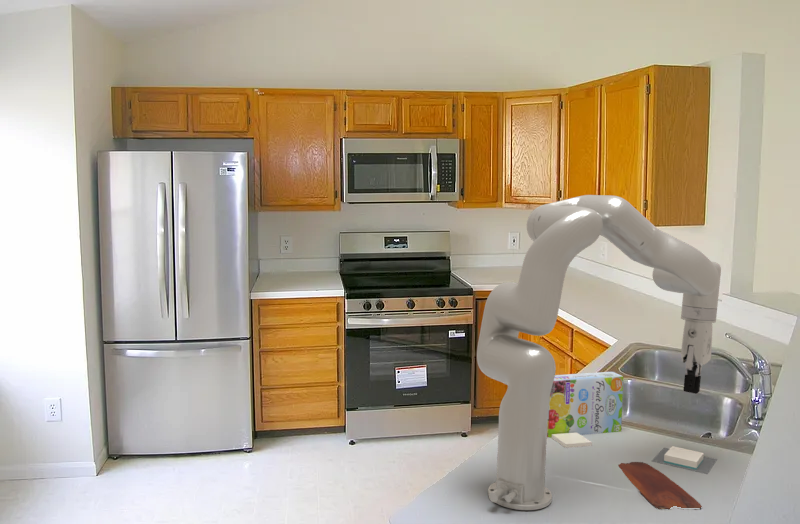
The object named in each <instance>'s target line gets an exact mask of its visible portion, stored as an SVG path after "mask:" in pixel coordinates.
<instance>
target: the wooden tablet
mask: <svg viewBox="0 0 800 524" xmlns="http://www.w3.org/2000/svg"><path fill="white" fill-rule="evenodd" d="M617 465H618V467H619V469H620V470H621V471H622V473H623V474H624V476H625V477H626V478H627V479H628V481H630V483H631V484H632V485H633V486H634V487H635V488H636V489H637V490H638V491H639V492H640V494H641V495H642V496H643V497H644V498H645V499H646V500H647V501H648V502H649V503H650V504H651V505H652V506H653V507H654V506H655V508H656V509H657V508H658V510H660V509H668V510H671V509H670V508H671V507H673V506H677V507H681V508H701V507H702V508H703V506H702V505H701V503H700V502H699V501H698V500H697V499H696V498H694V497H693V496H692V495H691V494H690V493H688V492H687V491H686V490H685V489H683V488H682V487H681V486H680V485H679V484H677V483H676V482H675V481H674V480H671V479H670V478H669V477H668V476H667V475H666V474H664V473H663V472H661V471H660V470H658V469H656V468H655V467H653V466H652V465H649V464H648V463H645V462H643V461H642V462H641V461H631V462H626V463H624V462H621V463H619V464H617Z"/></svg>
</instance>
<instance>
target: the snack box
mask: <svg viewBox="0 0 800 524" xmlns="http://www.w3.org/2000/svg"><path fill="white" fill-rule="evenodd" d="M624 380H625V379H624V376H623V375H621V374H618V373H617V372H616V371H603V372H601V371H599V372H598V371H597V372H586V373H585V372H584V373H582V372H581V373H570V374H567V373H566V374H555V377H554V381H553V385H552V389H551V393H550V399H549V407H548V426H547V438H552V434H563V433H575V432H577V433H578V434H580V435H582V436H583V435H593V434H594V435H596V434H606V433H607V434H608V433H618V432H622V425H623V424H622V422H623V420H622V419H623V402H624V401H623V398H624Z"/></svg>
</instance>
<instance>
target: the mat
mask: <svg viewBox="0 0 800 524" xmlns="http://www.w3.org/2000/svg"><path fill="white" fill-rule="evenodd" d="M669 449H670V448H667V447H663V448H662V449H661V450H660V451H659V452H658V453H657V454H656V456H655V457H654V458H653V459H652V460H651V462H653V463H658V464H662V465H666V466H670V467H674V468H679V469H683V470H687V471H692V472H696V473H701V474H705V475H708V474H709V473H710V471H711V470H712V468H713V467H714V465H715V463H716V462H717V461H718V458H714V457H709V456H705V455H704V457H703V461H702V463H701V464H700V466H699V467H698V468H697V470H695V469H691V468H686V467H682V466H678V465H673V464H669V463H665V462H664V455H665V454H666V452H667V451H668V450H669Z"/></svg>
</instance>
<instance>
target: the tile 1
mask: <svg viewBox="0 0 800 524" xmlns="http://www.w3.org/2000/svg"><path fill="white" fill-rule="evenodd" d="M551 439H552V440H554V441H555V442H557V443H558V444H559V445H561V446H562V447H564V448H565V449H571V448H572V449H573V448H579V447H580V448H582V447H592V446H593V442H592V441H591V440H589V439H588V438H586V437H585V436H583V435H580V434H578V433H577V432H575V433H563V434H552V437H551Z"/></svg>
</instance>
